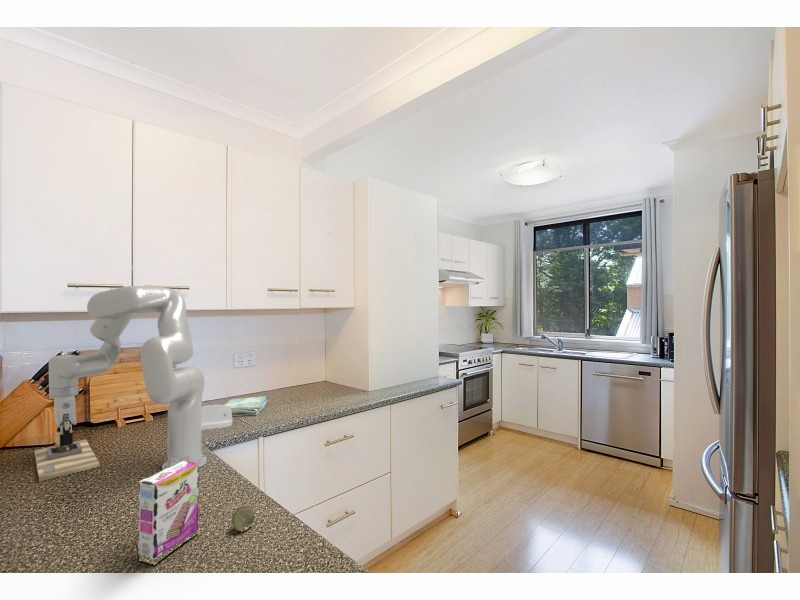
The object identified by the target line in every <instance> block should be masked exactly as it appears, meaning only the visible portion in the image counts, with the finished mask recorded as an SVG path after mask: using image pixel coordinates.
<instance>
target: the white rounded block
mask: <svg viewBox="0 0 800 600" xmlns="http://www.w3.org/2000/svg"><path fill="white" fill-rule="evenodd" d="M233 420H234V419H233V416H232V412H231V408H230V407H229V406H225V404H208V405H203V406H201V431H203V430H204V431H205V430H212V429H214V430H215V429H222V427H223V428H229V427H228V426H231V427H233V423H234V421H233Z"/></svg>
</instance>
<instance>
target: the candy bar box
mask: <svg viewBox="0 0 800 600" xmlns="http://www.w3.org/2000/svg"><path fill="white" fill-rule="evenodd" d="M199 469H200V468H199V463H194V462H187V461H182V462H179V463H177V464H175V465H173V466H171V467H169V468H167V469H165V470H161V471H158V472H156V473H154V474H151V475H149V476H148V477H145V478H143V479H141V480H139V481H138V507H137V509H138V511H137V512H138V513H137V515H138V521H137V523H138V524H137V525H138V527H137V530H138V531H137V535H138V536H137V538H138V539H137V555H138V554H141V555H145V556H149V557H153V558H155V557H157V556H159V555H161V554H162V553H164V552H165V551H166V550H168V549H170V548H171V547H173V546H174V545H176V544H177V543H179V542H181V541H182V540H184V539H185V538H187V537H188V536H190V535H191V534H192V533H194V532H196V531H197V530H198V531H199V484H200V483H199V478H200V477H199V472H200V471H199Z"/></svg>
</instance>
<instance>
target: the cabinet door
mask: <svg viewBox="0 0 800 600" xmlns="http://www.w3.org/2000/svg"><path fill="white" fill-rule="evenodd" d="M33 453H35V454H34V460H35V459H36V460H35V465H37V466H36V472H37V478H38V477H39V478H38V482H39V481H42V480H46V479H51V478H55V477H59V478H61V477H60V476H63V477H65V476H64V475H67V476H69V475H68V474H71V475H73V474H72V473H75V474H77V473H76V472H79V473H82V472H81V471H83V472H86V471H85V470H87V471H90V470H89V469H91V470H93V469H92V468H95V469H97V468H96V467H99V468H100V462H99V460H98V458H97V456H96V454H95V453H94V451H93V449H92V447H91V446H90V444H89V442H88V440H87V439H83V440H77V441H73V450H68V451H63V452H59V453H56V445H53V446H49V447H43V448H38V449H37V448H36V449H34V452H33ZM55 479H56V478H55ZM51 480H52V479H51Z"/></svg>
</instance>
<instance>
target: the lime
mask: <svg viewBox="0 0 800 600" xmlns="http://www.w3.org/2000/svg"><path fill="white" fill-rule="evenodd" d="M254 522H255V514H254V511H253V509H252V508H250V507H249V506H245V505H244V506H241V507H239V508H237V510H235V511H234V512H233V514H232V517H231V524H232V526H233V528H234V530H236V531H237V532H239V531H240V530H242V529H244V528H245V527H247V526H249V525H251V524H252V525H253V524H254ZM252 525H251V526H252Z"/></svg>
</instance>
